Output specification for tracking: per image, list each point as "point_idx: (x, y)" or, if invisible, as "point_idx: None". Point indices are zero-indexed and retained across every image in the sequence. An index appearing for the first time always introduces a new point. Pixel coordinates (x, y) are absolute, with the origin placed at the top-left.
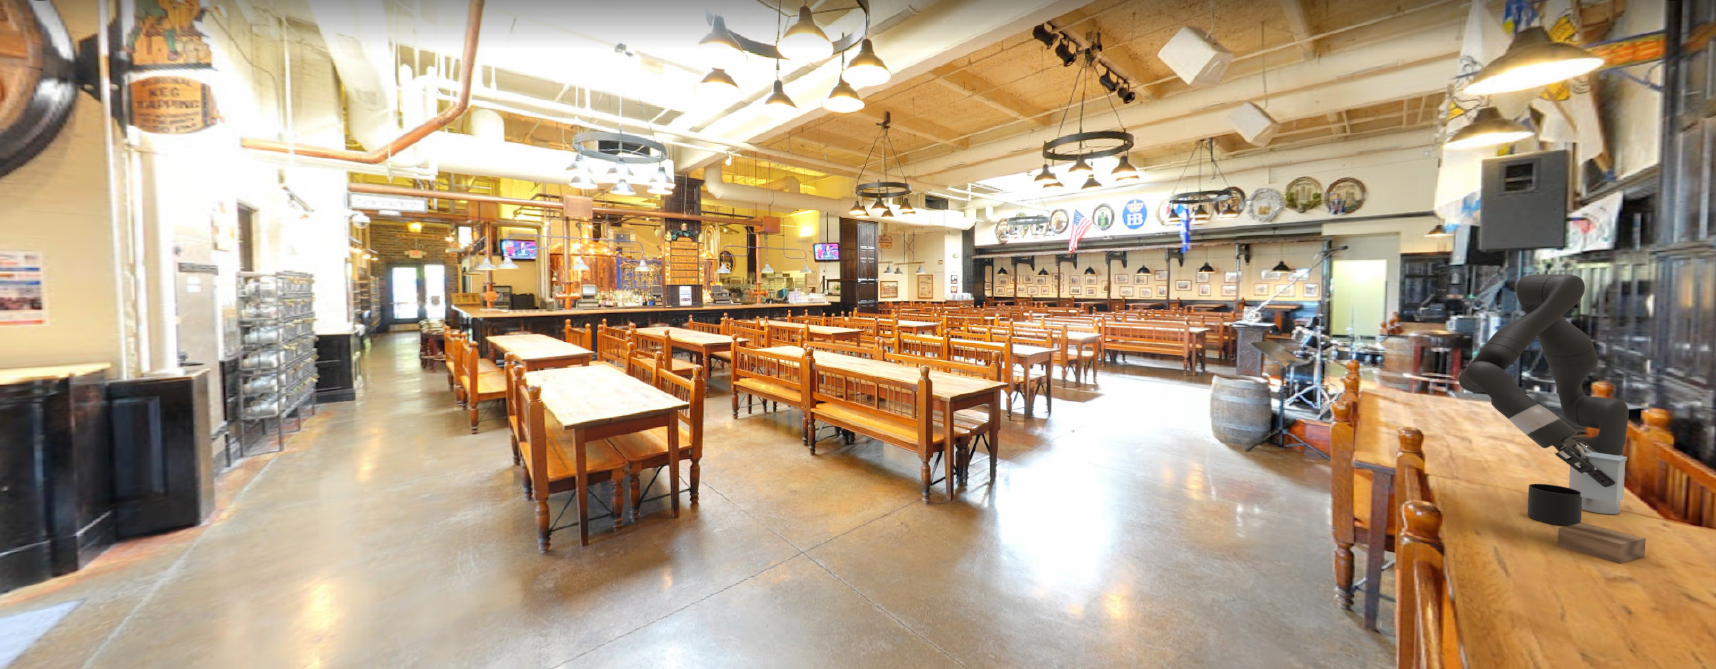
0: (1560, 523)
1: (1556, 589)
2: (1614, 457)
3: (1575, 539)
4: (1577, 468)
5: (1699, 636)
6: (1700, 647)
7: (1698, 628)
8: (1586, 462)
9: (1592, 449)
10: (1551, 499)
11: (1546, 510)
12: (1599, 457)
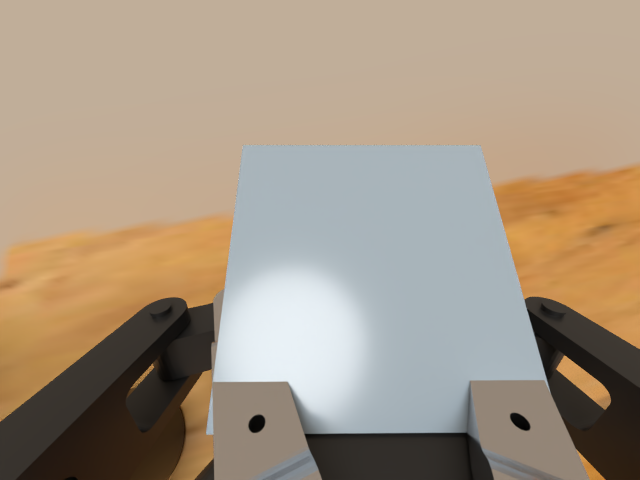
0: (181, 416)
1: (630, 303)
2: (365, 193)
3: None
4: (568, 381)
5: (596, 173)
6: (631, 168)
7: (569, 177)
8: (578, 341)
9: (14, 438)
10: (135, 474)
11: (162, 463)
12: (501, 267)
